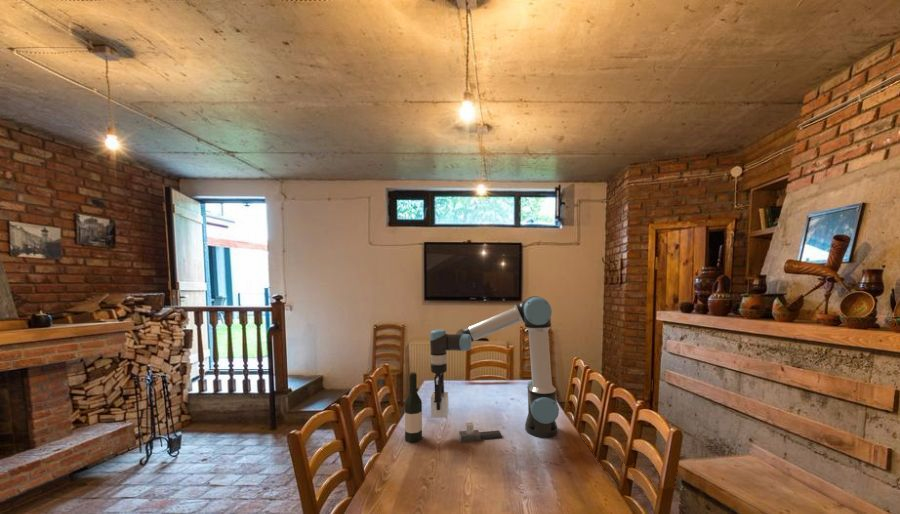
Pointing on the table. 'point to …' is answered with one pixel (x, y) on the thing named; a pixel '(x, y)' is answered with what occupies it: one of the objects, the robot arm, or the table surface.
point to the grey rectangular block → (444, 405)
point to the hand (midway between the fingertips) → (440, 413)
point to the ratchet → (476, 434)
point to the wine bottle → (413, 412)
